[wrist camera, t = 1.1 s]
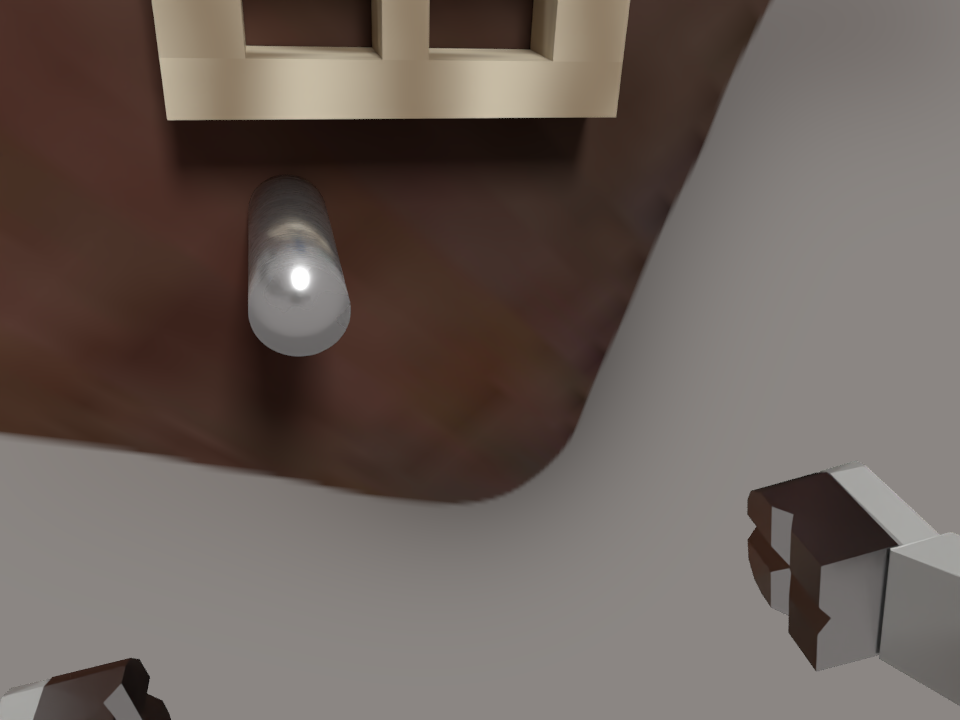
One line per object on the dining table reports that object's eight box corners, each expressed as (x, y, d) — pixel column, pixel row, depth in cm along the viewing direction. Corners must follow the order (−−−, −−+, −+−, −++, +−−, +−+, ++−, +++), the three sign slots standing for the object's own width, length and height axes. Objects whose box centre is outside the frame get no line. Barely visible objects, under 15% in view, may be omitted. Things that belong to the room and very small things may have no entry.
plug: (251, 249, 35) (252, 359, 27) (245, 175, 34) (243, 267, 25) (327, 246, 36) (352, 352, 28) (324, 173, 35) (349, 262, 26)
